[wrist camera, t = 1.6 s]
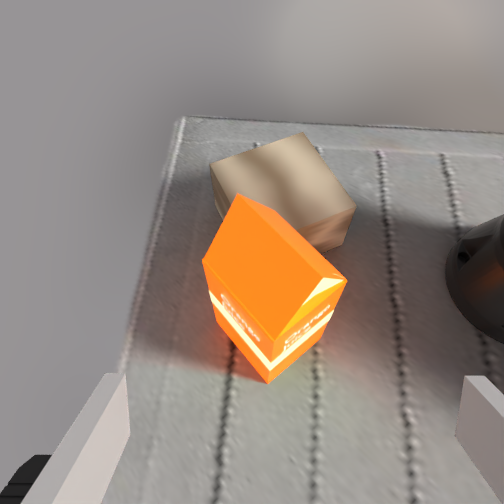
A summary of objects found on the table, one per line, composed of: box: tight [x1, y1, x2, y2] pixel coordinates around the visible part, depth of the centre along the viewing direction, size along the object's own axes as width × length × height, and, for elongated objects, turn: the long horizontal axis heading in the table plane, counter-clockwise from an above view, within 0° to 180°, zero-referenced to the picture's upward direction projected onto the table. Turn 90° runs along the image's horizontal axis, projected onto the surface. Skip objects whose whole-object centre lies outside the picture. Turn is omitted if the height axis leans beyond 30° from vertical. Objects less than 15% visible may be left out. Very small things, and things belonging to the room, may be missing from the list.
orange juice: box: [202, 193, 347, 384], centre depth 35 cm, size 8×9×20 cm
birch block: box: [209, 132, 357, 254], centre depth 47 cm, size 12×12×8 cm
